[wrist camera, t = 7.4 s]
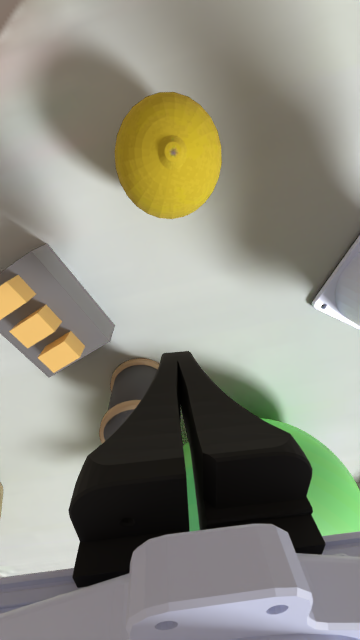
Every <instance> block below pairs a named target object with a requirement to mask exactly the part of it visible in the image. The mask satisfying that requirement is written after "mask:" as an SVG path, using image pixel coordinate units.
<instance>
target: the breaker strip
mask: <svg viewBox="0 0 360 640" xmlns="http://www.w3.org/2000/svg"><path fill="white" fill-rule="evenodd" d="M114 327H115V325H114V324H113V322H112V321H111V320H110V319H109V318H108V316H107V315H106V314H105V313H104V311H103V310H102V309H101V308H100V307H99V305H98V304H97V303H96V302H95V301H94V299H93V298H92V297H91V296H90V295H89V293H88V292H87V291H86V290H85V289H84V287H83V286H82V285H81V284H80V282H79V281H78V280H77V279H76V278H75V276H74V275H73V274H72V273H71V272H70V270H69V269H68V268H67V267H66V266H65V264H64V263H63V262H62V261H61V260H60V258H59V257H58V256H57V255H56V254H55V252H54V251H53V250H52V249H51V247H50V246H49V245H48V244H45V245H43V246H41V247H39V248H36V249H34V250H32V251H30V252H29V253H27V254H26V255H25V256H23V257H22V258H20V259H19V260H17V261H16V262H15V263H13V264H12V265H10V266H9V267H7V268H6V269H5V270H3V271H2V272H0V333H1V334H2V335H3V336H4V337H5V338H6V339H7V340H8V341H9V342H10V343H12V344H13V345H14V346H15V347H16V348H17V349H18V350H19V351H20V352H21V353H23V354H24V355H25V356H26V357H27V358H28V359H29V360H30V361H31V362H32V363H34V364H35V365H36V366H37V367H38V368H39V369H40V370H41V371H42V372H43V373H45V374H46V375H47V376H48V377H51V376H53V375H54V374H56V373H58V372H59V371H61V370H63V369H64V368H66V367H68V366H69V365H71V364H73V363H74V362H76V361H78V360H80V359H81V358H83V357H85V356H86V355H88V354H90V353H91V352H93V351H95V350H96V349H98V348H100V347H101V346H103V345H105V344H106V343H108V342H110V340H111V337H112V333H113V330H114Z"/></svg>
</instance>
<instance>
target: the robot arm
mask: <svg viewBox="0 0 360 640" xmlns="http://www.w3.org/2000/svg"><path fill="white" fill-rule="evenodd" d="M323 304H324V306H323V307H321V306H322V305H323ZM312 307H314V308H315V309H317V310H319V311H321V312H323V313H325V314H327V315H330V316H332V317H334V318H336V319H338V320H340V321H342V322H345V323H347V324H349V325H351V326H353V327H355V328H357V329H359V330H360V235H359V237H358V238H357V239H356V241H355V242H354V244H353V245H352V246H351V248H350V249H349V251H348V252H347V254H346V255H345V256H344V258H343V259H342V261H341V262H340V263H339V265H338V266H337V268H336V269H335V270H334V272H333V273H332V275H331V276H330V277H329V279H328V280H327V282H326V283H325V284H324V286H323V287H322V289H321V290H320V292H319V293H318V294H317V296H316V297H315V299H314V300H313V302H312ZM180 405H181V409H182V414H183V419H184V423H185V428H186V432H187V437H188V442H189V447H190V452H191V459H192V468H193V476H194V484H195V493H196V501H197V510H198V519H199V527H200V530H198V531H189V529H190V528H189V511H188V495H187V478H186V468H185V459H184V451H183V443H182V435H181V427H180ZM312 470H313V469H312V467H311V464H310V462H309V460H308V459H307V457H306V455H305V453H304V452H303V450H302V449H301V447H300V446H299V445H298V443H297V442H296V441H295V439H294V438H293V436H292V435H291V434H290V433H288V432H286V431H284V430H282V429H280V428H278V427H276V426H273V425H271V424H269V423H267V422H266V421H264V420H262V419H260V418H259V417H257V416H255V415H253V414H252V413H250V412H249V411H247V410H246V409H244V408H243V407H242V406H240V405H239V404H237V403H236V402H235V401H233V400H232V399H231V398H230V397H228V396H227V395H226V394H225V393H224V392H223V391H222V390H221V389H220V388H219V387H218V386H217V385H216V384H215V383H214V382H213V381H212V380H211V379H210V378H209V377H208V376H207V375H206V373H205V372H204V371H203V370H202V369H201V367H200V366H199V365H198V363H197V362H196V360H195V359H194V357H193V356H192V354H191V353H190V352H189V351H185V352H174V353H164V354H163V355H162V357H161V361H160V364H159V367H158V370H157V372H156V374H155V376H154V379H153V381H152V383H151V384H150V386H149V388H148V390H147V392H146V393H145V395H144V396H143V398H142V400H141V401H140V402H139V404H138V405H137V407H136V408H135V409H134V411H133V412H132V413H131V414H130V416H129V417H128V418H127V419H126V420H125V422H124V423H123V424H122V425H121V426H120V427H119V428H118V429H117V430H116V431H115V432H114V433H113V434H112V435H111V436H110V437H109V438H108V439H107V440H106V441H105V442H104V443H103V444H101V445H100V446H99V447H98V448H97V449H95V450H94V451H93V452H92V453H91V454H89V455H88V456H87V458H86V460H85V462H84V465H83V467H82V469H81V472H80V474H79V476H78V479H77V482H76V484H75V488H74V492H73V496H72V499H71V503H70V507H69V515H70V519H71V521H72V523H73V526H74V528H75V531H76V533H77V535H78V538H79V540H80V544H79V549H78V553H77V558H76V562H75V567H74V568H71V569H63V570H55V571H48V572H40V573H32V574H24V575H17V576H9V577H1V578H0V640H360V531H358V532H350V533H343V534H335V535H327V536H322V535H321V533H320V531H319V529H318V527H317V525H316V523H315V521H314V519H313V517H312V515H311V514H312V513H313V509H312V506H311V504H310V502H309V500H308V498H307V493H308V489H309V486H310V482H311V478H312Z"/></svg>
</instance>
